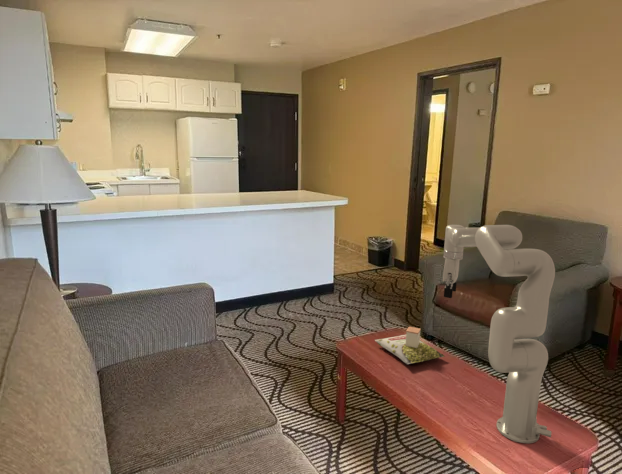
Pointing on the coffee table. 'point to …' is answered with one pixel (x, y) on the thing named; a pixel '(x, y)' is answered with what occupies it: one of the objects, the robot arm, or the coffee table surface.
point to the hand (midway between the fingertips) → (449, 294)
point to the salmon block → (413, 337)
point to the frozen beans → (409, 350)
